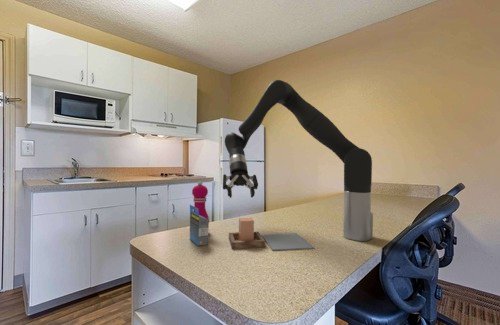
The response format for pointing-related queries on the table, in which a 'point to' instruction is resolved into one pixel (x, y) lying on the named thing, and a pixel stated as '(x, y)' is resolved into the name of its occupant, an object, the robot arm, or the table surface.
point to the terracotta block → (246, 229)
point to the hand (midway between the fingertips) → (241, 196)
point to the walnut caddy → (246, 244)
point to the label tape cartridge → (198, 227)
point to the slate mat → (286, 241)
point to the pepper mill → (200, 199)
